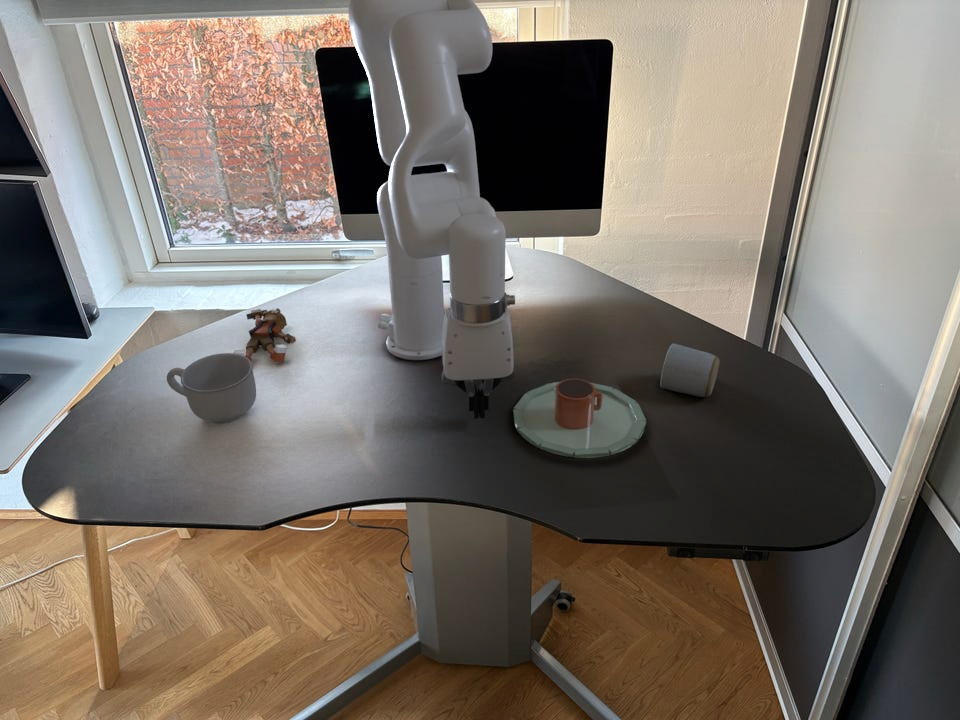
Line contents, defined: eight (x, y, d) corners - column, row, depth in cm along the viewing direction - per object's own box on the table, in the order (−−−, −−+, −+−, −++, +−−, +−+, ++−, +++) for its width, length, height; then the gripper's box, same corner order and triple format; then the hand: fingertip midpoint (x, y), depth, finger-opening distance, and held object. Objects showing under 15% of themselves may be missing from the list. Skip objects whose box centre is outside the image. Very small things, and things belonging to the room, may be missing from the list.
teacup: (273, 400, 119) (265, 358, 115) (233, 437, 110) (223, 392, 106) (203, 387, 123) (193, 346, 119) (159, 421, 114) (147, 378, 110)
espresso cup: (559, 431, 108) (561, 400, 105) (550, 409, 113) (551, 380, 111) (606, 426, 109) (609, 396, 106) (595, 405, 114) (597, 375, 112)
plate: (492, 443, 108) (492, 433, 107) (541, 380, 123) (542, 371, 123) (623, 478, 100) (624, 468, 99) (658, 406, 116) (659, 397, 115)
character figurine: (215, 352, 127) (246, 299, 142) (221, 374, 130) (251, 320, 145) (282, 352, 127) (306, 299, 141) (287, 375, 130) (310, 320, 144)
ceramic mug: (708, 407, 115) (715, 365, 112) (657, 396, 118) (662, 354, 115) (719, 377, 124) (726, 337, 120) (671, 367, 127) (677, 328, 123)
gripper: (526, 290, 104) (523, 396, 113) (422, 296, 102) (427, 402, 112) (535, 314, 97) (531, 424, 107) (424, 320, 96) (430, 431, 106)
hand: (478, 413), depth 109 cm, fingers closed
